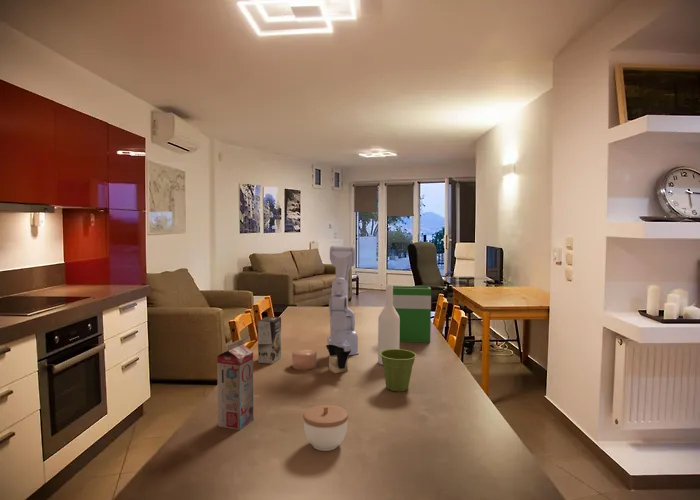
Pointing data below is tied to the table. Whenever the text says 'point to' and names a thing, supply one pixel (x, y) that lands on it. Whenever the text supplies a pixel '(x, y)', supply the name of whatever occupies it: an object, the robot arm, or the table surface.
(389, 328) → the bottle
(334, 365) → the maple cube
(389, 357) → the plant pot
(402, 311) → the hardback book
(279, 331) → the coffee box
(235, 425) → the juice carton
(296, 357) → the salmon pink cylinder
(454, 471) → the table surface
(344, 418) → the lidded jar
